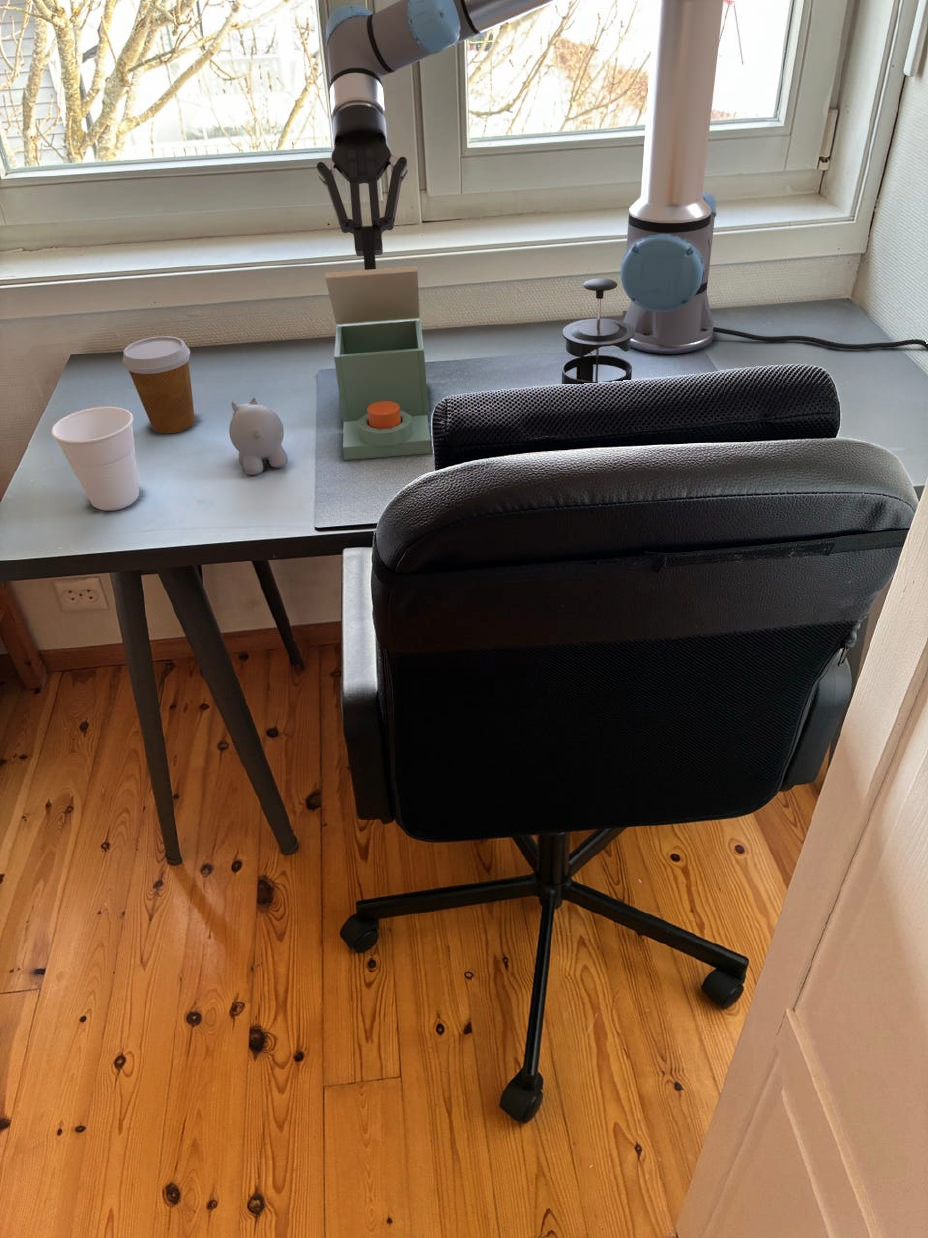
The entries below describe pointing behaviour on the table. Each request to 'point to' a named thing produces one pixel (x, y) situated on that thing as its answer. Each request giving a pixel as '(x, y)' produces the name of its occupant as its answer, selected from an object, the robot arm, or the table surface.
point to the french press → (596, 341)
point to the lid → (374, 294)
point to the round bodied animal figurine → (257, 436)
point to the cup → (101, 454)
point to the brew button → (384, 415)
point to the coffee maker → (381, 367)
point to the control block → (386, 438)
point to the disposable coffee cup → (162, 381)
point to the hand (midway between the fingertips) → (370, 275)
